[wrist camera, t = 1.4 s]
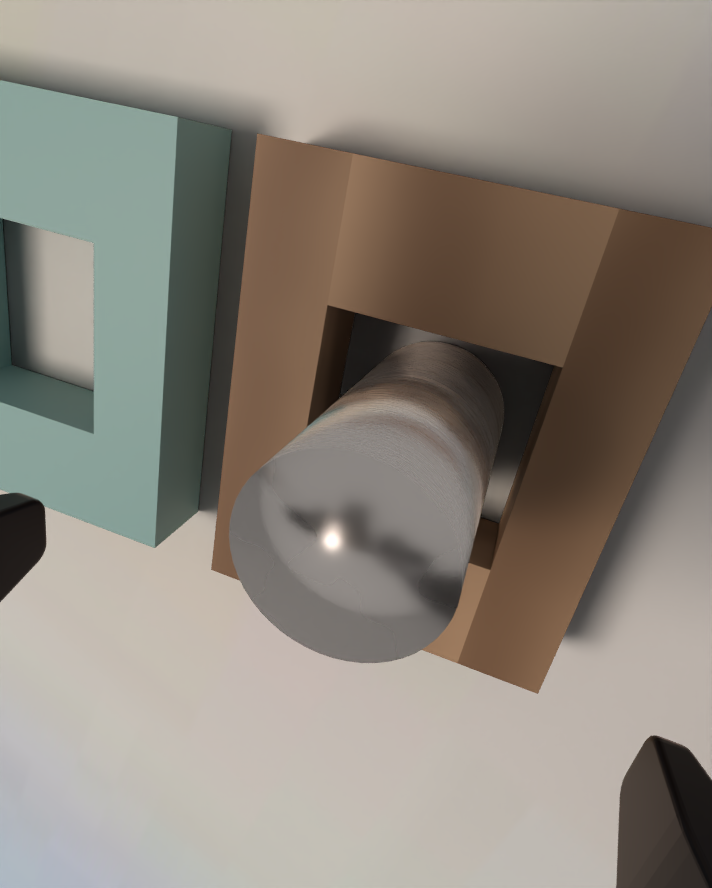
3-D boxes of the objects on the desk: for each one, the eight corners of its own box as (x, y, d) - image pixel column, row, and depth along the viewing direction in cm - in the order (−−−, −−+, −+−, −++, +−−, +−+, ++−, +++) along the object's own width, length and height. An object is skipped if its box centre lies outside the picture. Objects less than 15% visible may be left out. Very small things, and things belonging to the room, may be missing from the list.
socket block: (712, 229, 13) (744, 234, 11) (539, 634, 18) (537, 693, 16) (301, 144, 15) (257, 133, 13) (249, 530, 20) (211, 569, 18)
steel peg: (523, 363, 15) (494, 496, 8) (481, 493, 17) (427, 695, 10) (379, 325, 16) (241, 416, 9) (352, 452, 18) (218, 613, 11)
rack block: (231, 129, 16) (177, 116, 13) (197, 511, 21) (154, 547, 18) (-68, 67, 18) (-158, 47, 15) (-32, 429, 23) (-95, 453, 20)
